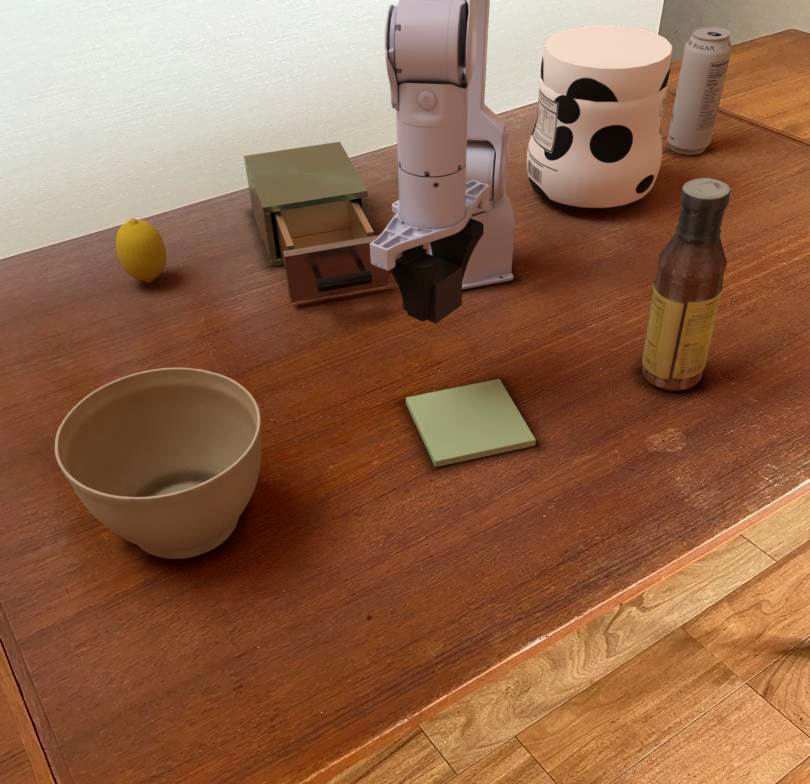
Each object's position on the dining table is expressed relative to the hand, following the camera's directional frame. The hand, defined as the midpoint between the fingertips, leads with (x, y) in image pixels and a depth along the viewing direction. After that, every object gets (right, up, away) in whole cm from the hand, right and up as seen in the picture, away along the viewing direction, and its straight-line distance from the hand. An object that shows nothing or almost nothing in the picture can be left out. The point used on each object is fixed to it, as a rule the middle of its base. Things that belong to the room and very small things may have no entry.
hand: (432, 305), depth 82 cm
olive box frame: (-15, +18, +30) cm, 38 cm away
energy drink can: (+38, +34, +43) cm, 67 cm away
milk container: (+22, +25, +35) cm, 48 cm away
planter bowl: (-22, -21, -5) cm, 31 cm away
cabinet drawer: (-11, +9, +21) cm, 26 cm away
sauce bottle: (+24, -5, +7) cm, 26 cm away
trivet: (+4, -11, +3) cm, 12 cm away
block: (0, 0, 0) cm, 0 cm away
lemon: (-33, +9, +23) cm, 41 cm away
